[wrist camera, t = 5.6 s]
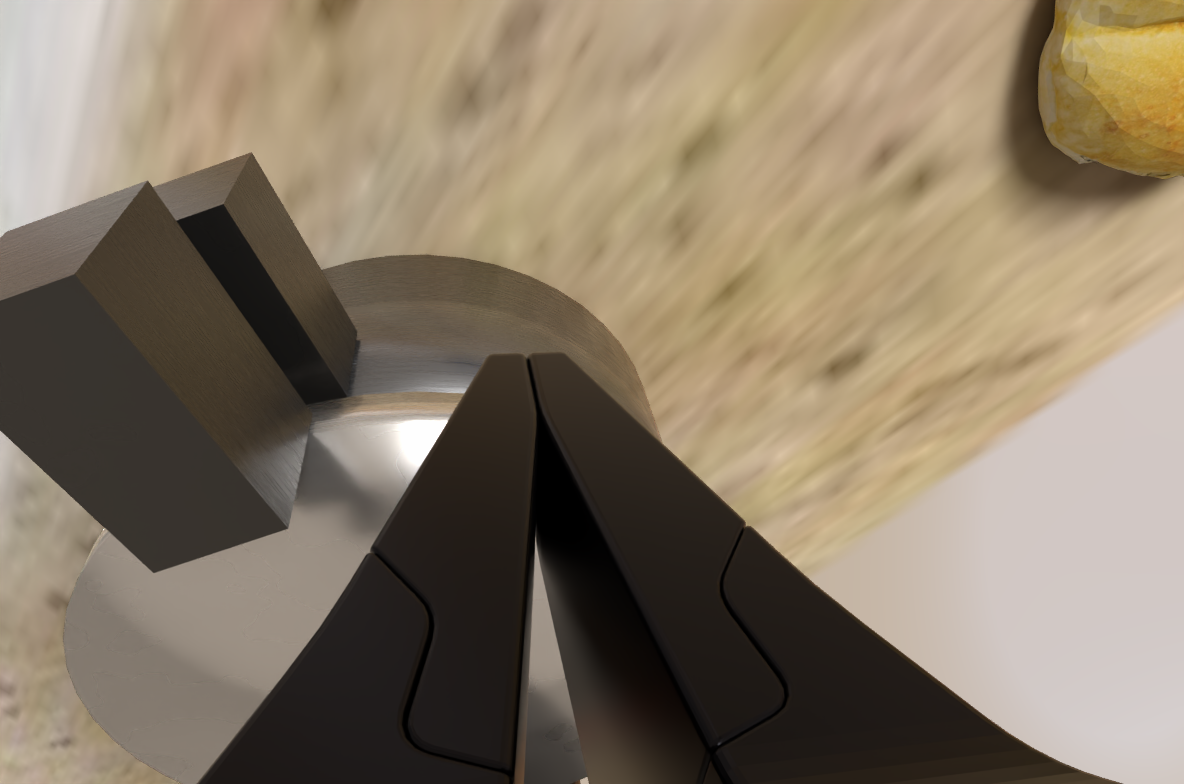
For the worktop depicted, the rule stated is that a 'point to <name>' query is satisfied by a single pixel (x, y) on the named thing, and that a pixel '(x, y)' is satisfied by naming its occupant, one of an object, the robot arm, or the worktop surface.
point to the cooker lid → (204, 485)
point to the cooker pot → (380, 303)
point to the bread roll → (1116, 84)
